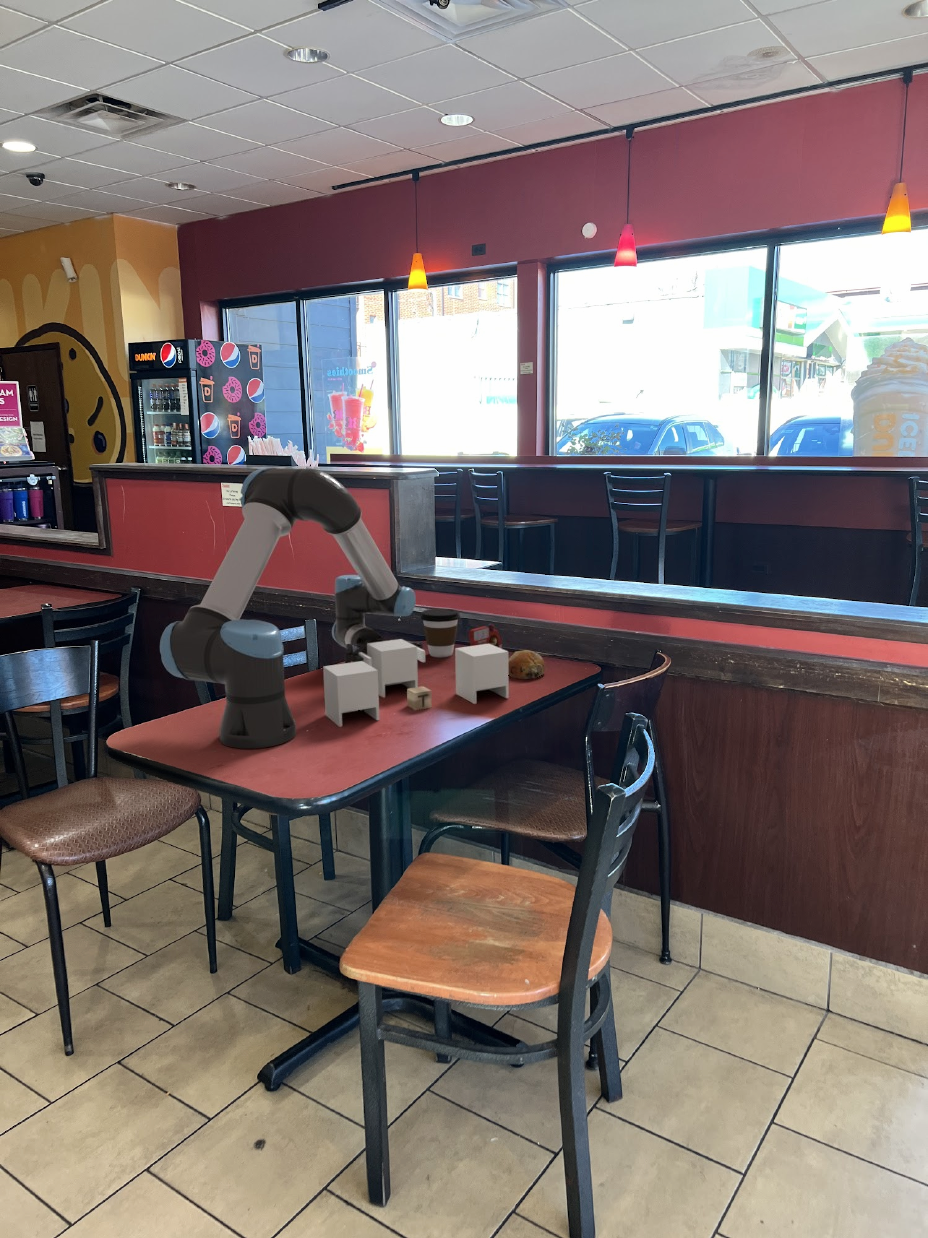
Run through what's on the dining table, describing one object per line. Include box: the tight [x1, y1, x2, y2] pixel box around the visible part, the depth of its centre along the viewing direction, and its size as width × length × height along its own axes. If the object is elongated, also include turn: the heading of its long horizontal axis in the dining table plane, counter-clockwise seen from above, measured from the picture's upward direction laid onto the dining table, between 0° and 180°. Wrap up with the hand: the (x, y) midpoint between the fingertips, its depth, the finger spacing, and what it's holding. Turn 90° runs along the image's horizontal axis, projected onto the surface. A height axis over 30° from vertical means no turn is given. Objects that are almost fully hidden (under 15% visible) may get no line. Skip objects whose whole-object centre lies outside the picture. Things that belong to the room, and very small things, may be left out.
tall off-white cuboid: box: [367, 638, 419, 698], centre depth 211 cm, size 9×9×11 cm
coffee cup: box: [420, 608, 461, 658], centre depth 244 cm, size 11×11×12 cm
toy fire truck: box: [468, 623, 505, 650], centre depth 234 cm, size 7×12×10 cm, turn 140°
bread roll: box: [508, 649, 546, 680], centre depth 224 cm, size 10×10×8 cm
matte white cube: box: [322, 661, 380, 728], centre depth 191 cm, size 9×9×11 cm
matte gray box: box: [454, 644, 510, 705], centre depth 205 cm, size 9×9×11 cm
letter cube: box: [406, 686, 432, 711], centre depth 199 cm, size 4×4×4 cm
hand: (397, 660), depth 208 cm, fingers open, 13 cm apart
